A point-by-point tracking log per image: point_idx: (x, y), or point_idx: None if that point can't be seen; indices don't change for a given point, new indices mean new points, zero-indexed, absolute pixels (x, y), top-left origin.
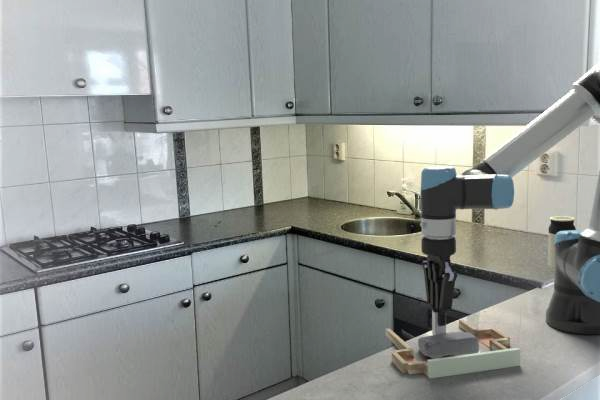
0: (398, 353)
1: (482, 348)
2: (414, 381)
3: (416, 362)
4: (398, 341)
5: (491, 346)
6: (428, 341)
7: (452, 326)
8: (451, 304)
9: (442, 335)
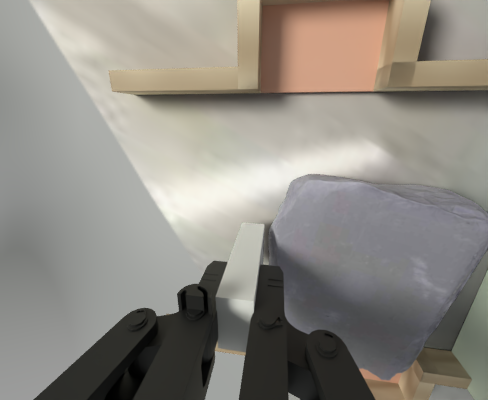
0: None
1: (353, 117)
2: (450, 390)
3: (420, 393)
4: None
5: (392, 89)
6: (383, 373)
7: (115, 110)
8: (370, 396)
9: (314, 281)
